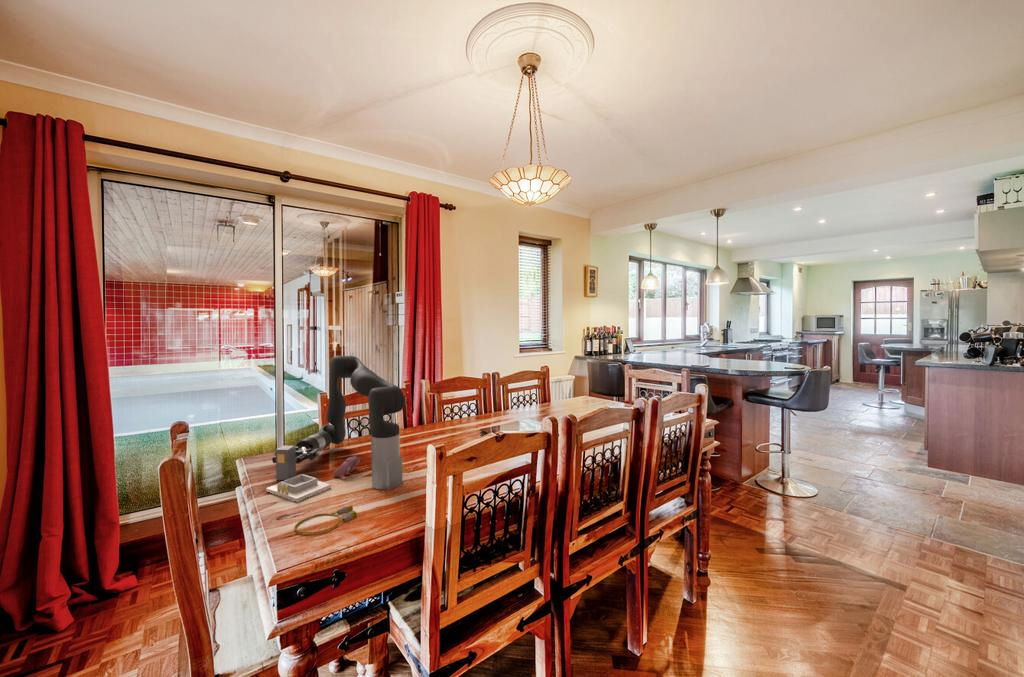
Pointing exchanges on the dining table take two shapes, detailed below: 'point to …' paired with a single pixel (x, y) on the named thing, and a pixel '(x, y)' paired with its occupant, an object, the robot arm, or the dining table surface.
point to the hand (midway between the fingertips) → (285, 460)
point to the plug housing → (285, 462)
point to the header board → (298, 487)
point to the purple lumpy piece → (347, 466)
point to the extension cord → (340, 511)
